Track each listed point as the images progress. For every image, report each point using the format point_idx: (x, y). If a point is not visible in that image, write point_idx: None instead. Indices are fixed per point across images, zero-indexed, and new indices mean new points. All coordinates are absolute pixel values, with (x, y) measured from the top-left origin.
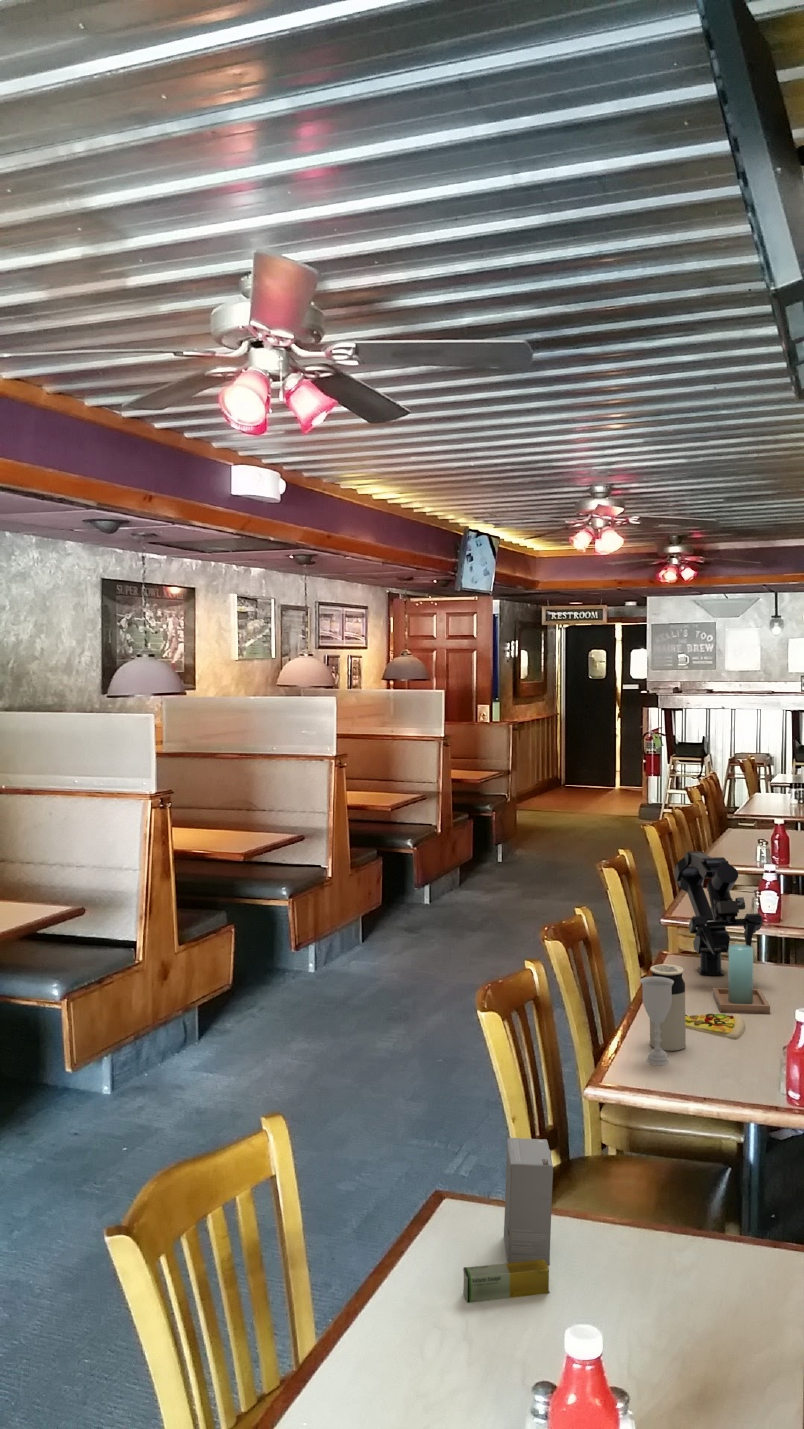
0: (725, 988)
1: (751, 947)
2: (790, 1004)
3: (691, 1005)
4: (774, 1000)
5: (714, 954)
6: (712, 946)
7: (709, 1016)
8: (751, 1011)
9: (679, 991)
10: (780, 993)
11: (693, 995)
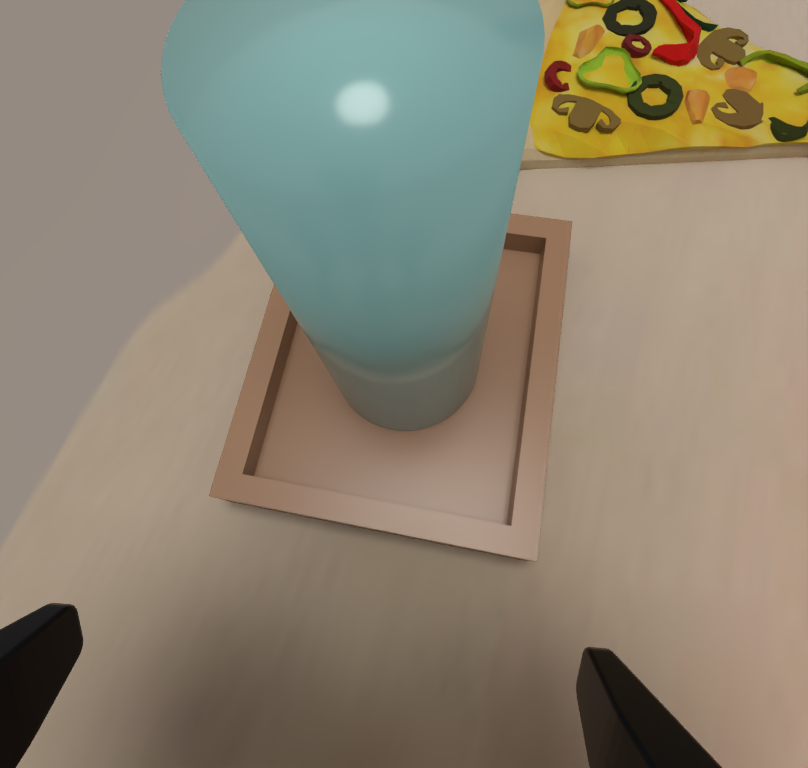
0: (448, 535)
1: (192, 26)
2: (133, 348)
3: (706, 370)
4: (182, 422)
5: (582, 674)
6: (662, 736)
7: (665, 82)
8: None
9: None
10: (70, 559)
11: (665, 574)
